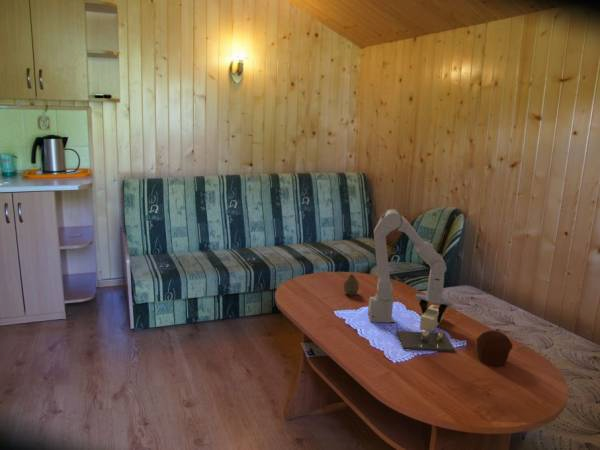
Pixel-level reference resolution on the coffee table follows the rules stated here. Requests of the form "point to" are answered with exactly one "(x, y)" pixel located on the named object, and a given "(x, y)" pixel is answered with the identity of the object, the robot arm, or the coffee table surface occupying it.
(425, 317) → the block with holes
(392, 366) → the coffee table surface
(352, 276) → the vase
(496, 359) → the muffin
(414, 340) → the flange base
